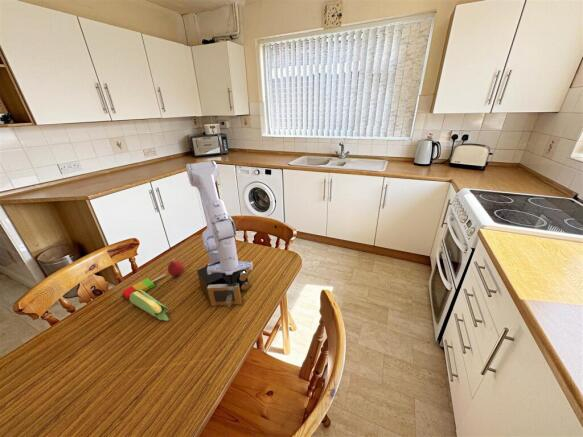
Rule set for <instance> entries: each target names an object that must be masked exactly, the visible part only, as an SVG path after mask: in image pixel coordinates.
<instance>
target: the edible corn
mask: <svg viewBox="0 0 583 437" xmlns="http://www.w3.org/2000/svg"><path fill="white" fill-rule="evenodd" d="M128 301H129V302H130V303H131V304H133V305H134V306H135V307H137V308H138V309H140V310H142V311H143V312H145V313H147V314H149V315H150V316H152V317H154V318H156V319H158V320H159V321H169V319H170V318H169V317H168V315H167V314H166V313H168V312H169V311H168V310H171V309H170V308H169V307H167V306H165V305H164V304H163V303H161V302H160V301H158V300H157V299H156V298H154V297H153V296H152V295H150V294H149V293H147V291H146V292H144V291H141V290H133V291H132V293H131V295H130V299H129V300H128Z"/></svg>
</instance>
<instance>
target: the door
mask: <svg viewBox="0 0 583 437" xmlns="http://www.w3.org/2000/svg"><path fill="white" fill-rule="evenodd" d="M207 290H208V294H209V298H210V300H209V303H210V306H213V307H214V306H226V308H227V309H229V308H231V307H232V305H241V304H242V302H243V301H242V295H241V294H242V293H241V291H240V288H239V283H235V284H216V285H208V287H207Z"/></svg>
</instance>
